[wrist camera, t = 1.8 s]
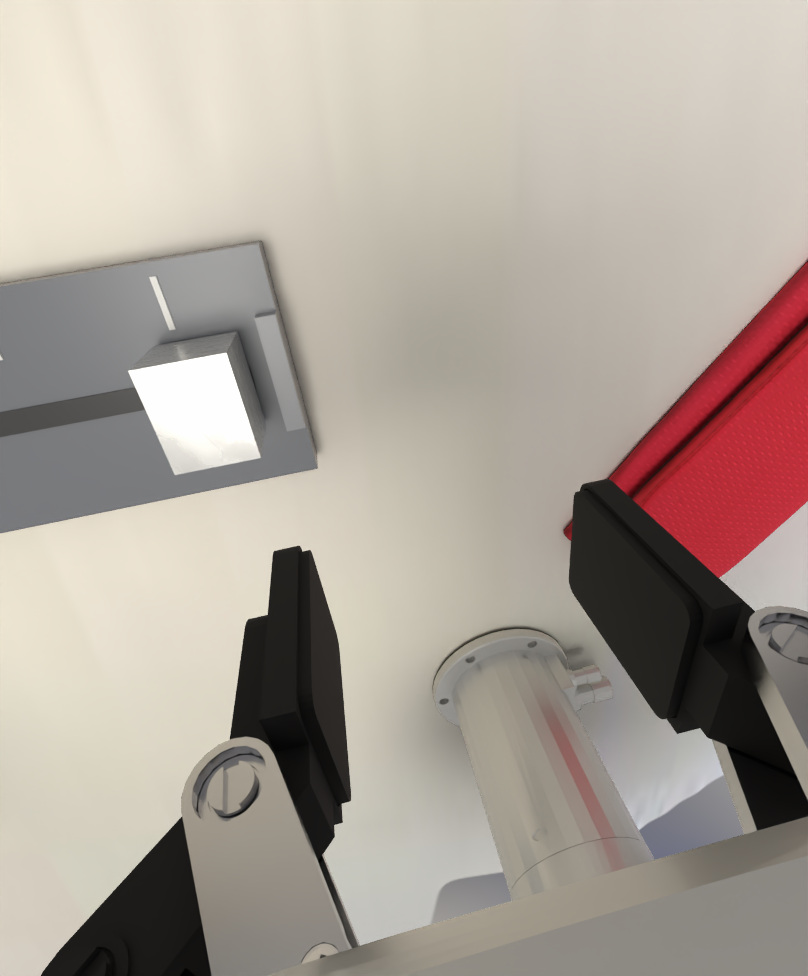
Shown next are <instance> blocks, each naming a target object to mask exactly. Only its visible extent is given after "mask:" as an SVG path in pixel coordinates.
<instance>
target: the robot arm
mask: <svg viewBox="0 0 808 976" xmlns="http://www.w3.org/2000/svg"><path fill="white" fill-rule="evenodd" d="M569 584H570V587H571V590H572V592H573V594H574V596H575V597H576V599H577V600H578V602H579V603H580V605H581V606H582V608H583V609H584V610H585V612H586V613H587V615H588V616H589V618H590V619H591V621H592V622H593V624H594V625H595V627H596V628H597V629H598V631H599V632H600V634H601V635H602V637H603V638H604V640H605V641H606V643H607V644H608V646H609V647H610V648H611V650H612V651H613V653H614V654H615V656H616V657H617V659H618V660H619V662H620V663H621V665H622V666H623V667H624V669H625V670H626V672H627V673H628V675H629V676H630V678H631V679H632V681H633V682H634V684H635V685H636V686H637V688H638V689H639V691H640V692H641V694H642V695H643V697H644V698H645V700H646V701H647V703H648V704H649V705H650V707H651V708H652V710H653V711H654V713H655V714H656V715H657V716H658V717H659V718H661V719H666V718H667V720H668V721H669V723H670V724H671V726H672V727H673V728H674V730H675V731H676V733H677V734H679V733H682V732H686V731H690V730H694V729H697V728H701V730H702V731H703V732H704V734H705V735H706V736H707V737H708V738H710V739H712V741H713V744H714V747H715V750H716V753H717V756H718V759H719V762H720V765H721V768H722V771H723V773H724V776H725V779H726V782H727V785H728V788H729V791H730V794H731V797H732V800H733V802H734V805H735V809H736V811H737V814H738V817H739V820H740V823H741V826H742V829H743V832H744V835H741V836H737V837H733V838H730V839H727V840H723V841H719V842H716V843H712V844H709V845H705V846H702V847H698V848H695V849H692V850H688V851H684V852H681V853H677V854H674V855H670V856H667V857H663V858H660V859H656V860H655V859H654V858H653V856H652V854H651V852H650V850H649V848H648V847H647V845H646V843H645V842H644V840H643V838H642V836H641V834H640V832H639V830H638V828H637V826H636V824H635V823H634V821H633V819H632V817H631V815H630V813H629V811H628V809H627V808H626V806H625V804H624V802H623V800H622V798H621V796H620V794H619V792H618V791H617V789H616V787H615V785H614V783H613V781H612V779H611V777H610V776H609V774H608V772H607V770H606V768H605V766H604V764H603V762H602V761H601V759H600V757H599V755H598V753H597V751H596V749H595V747H594V745H593V744H592V742H591V740H590V738H589V736H588V734H587V732H586V730H585V729H584V727H583V725H582V723H581V721H580V719H579V717H578V715H577V713H576V712H575V711H577V710H581V705H583V704H587V703H591V702H593V703H595V702H599V701H603V700H607V699H611V698H613V696H614V695H613V689H612V686H611V684H610V682H609V680H608V679H607V678H606V677H605V676H602V677H601V673H600V670H599V668H598V667H597V666H596V665H595V664H594V665H590V666H586V667H582V668H581V669H577V670H573V671H571V670H570V669H569V668H568V661H567V658H566V656H565V654H564V652H563V650H562V648H561V647H560V645H559V644H558V643H557V641H555V640H554V639H553V638H552V637H550V636H548V635H546V634H544V633H542V632H538V631H534V630H528V629H511V630H503V631H498V632H494V633H490V634H488V635H485V636H482V637H480V638H477V639H475V640H473V641H472V642H470V643H468V644H466V645H464V646H463V647H462V648H460V649H459V650H457V651H456V652H455V653H454V654H453V655H452V656H451V657H449V658H448V659H447V660H446V661H445V663H444V664H443V665H442V667H441V668H440V670H439V671H438V673H437V675H436V678H435V680H434V685H433V696H434V700H435V703H436V707H437V709H438V711H439V713H440V714H441V716H443V717H444V718H445V719H446V720H447V721H449V722H450V723H452V724H454V725H457V726H460V727H461V731H462V734H463V737H464V741H465V744H466V747H467V751H468V754H469V758H470V761H471V764H472V768H473V771H474V774H475V778H476V781H477V784H478V788H479V791H480V794H481V798H482V801H483V805H484V808H485V811H486V815H487V818H488V821H489V825H490V828H491V831H492V835H493V838H494V841H495V845H496V848H497V852H498V855H499V858H500V862H501V865H502V868H503V872H504V875H505V878H506V882H507V885H508V888H509V892H510V895H511V899H512V901H510V902H507V903H503V904H500V905H497V906H493V907H490V908H486V909H483V910H480V911H476V912H473V913H469V914H466V915H462V916H459V917H456V918H452V919H449V920H445V921H442V922H438V923H435V924H431V925H428V926H425V927H421V928H418V929H414V930H411V931H407V932H404V933H401V934H397V935H394V936H390V937H387V938H384V939H381V940H377V941H374V942H371V943H368V944H365V945H361V946H360V944H359V942H358V939H357V937H356V934H355V932H354V929H353V927H352V924H351V922H350V919H349V917H348V914H347V912H346V909H345V907H344V904H343V902H342V899H341V897H340V894H339V892H338V889H337V887H336V885H335V882H334V880H333V877H332V875H331V872H330V870H329V867H328V865H327V862H326V860H325V857H324V855H323V853H324V852H325V850H326V849H327V847H328V846H329V844H330V843H331V841H332V840H333V838H334V837H335V835H334V825H335V824H339V823H343V821H342V805H341V804H342V803H345V802H349V801H351V789H350V776H349V764H348V751H347V739H346V726H345V714H344V701H343V689H342V676H341V664H340V652H339V643H338V638H337V634H336V630H335V627H334V624H333V621H332V617H331V614H330V611H329V608H328V604H327V601H326V598H325V594H324V591H323V588H322V585H321V581H320V578H319V575H318V571H317V568H316V565H315V562H314V558H313V555H312V552H311V551H310V550H308V551H304V552H302V549H301V547H300V546H296V547H291V548H286V549H282V550H277V551H274V552H273V561H272V572H271V584H270V596H269V608H268V615H266V616H261V617H257V618H252V619H248V621H247V622H246V626H245V632H244V639H243V646H242V654H241V661H240V668H239V676H238V683H237V690H236V698H235V705H234V713H233V720H232V727H231V735H230V740H229V741H226V742H224V743H222V744H219V745H218V746H217V747H215V748H214V749H212V750H211V751H210V752H208V753H207V754H206V755H205V756H204V757H203V758H202V759H201V760H200V761H199V762H198V764H197V765H196V766H195V767H194V769H193V770H192V772H191V774H190V776H189V777H188V779H187V781H186V783H185V787H184V790H183V793H182V797H181V812H182V817H181V818H180V819H179V820H178V821H177V823H176V824H175V825H174V826H173V827H172V828H171V829H170V830H169V831H168V832H167V833H166V835H165V836H164V837H163V838H162V839H161V840H160V841H159V842H158V843H157V844H156V845H155V847H154V848H153V849H152V850H151V851H150V852H149V853H148V854H147V855H146V856H145V857H144V859H143V860H142V861H141V862H140V863H139V864H138V865H137V866H136V867H135V868H134V870H133V871H132V872H131V873H130V874H129V875H128V876H127V877H126V878H125V879H124V880H123V882H122V883H121V884H120V885H119V886H118V887H117V888H116V889H115V890H114V891H113V892H112V894H111V895H110V896H109V897H108V898H107V899H106V900H105V901H104V902H103V903H102V904H101V906H100V907H99V908H98V909H97V910H96V911H95V912H94V913H93V914H92V915H91V917H90V918H89V919H88V920H87V921H86V922H85V923H84V924H83V925H82V926H81V927H80V929H79V930H78V931H77V932H76V933H75V934H74V935H73V936H72V937H71V938H70V939H69V941H68V942H67V943H66V944H65V945H64V946H63V947H62V948H61V949H60V950H59V952H58V953H57V954H56V956H55V957H54V958H53V959H52V961H51V962H50V963H49V965H48V966H47V967H46V968H45V970H44V971H43V973H42V975H41V976H808V612H806V611H803V610H800V609H796V608H790V607H783V606H774V607H765V608H763V609H760V610H757V611H756V612H755V611H754V610H753V609H752V608H751V607H750V606H749V605H748V604H746V603H745V602H744V601H743V600H742V599H741V598H740V597H739V596H738V595H737V594H735V593H734V592H733V591H732V590H731V589H730V588H729V587H728V586H727V585H726V584H725V583H723V582H722V581H721V580H720V579H719V578H718V577H717V576H716V575H715V574H714V573H712V572H711V571H710V570H709V569H708V568H707V567H706V566H705V565H704V564H703V563H701V562H700V561H699V560H698V559H697V558H696V557H695V556H694V555H693V554H692V553H691V552H689V551H688V550H687V549H686V548H685V547H684V546H683V545H682V544H681V543H680V542H678V541H677V540H676V539H675V538H674V537H673V536H672V535H671V534H670V533H669V532H668V531H666V530H665V529H664V528H663V527H662V526H661V525H660V524H659V523H658V522H657V521H655V520H654V519H653V518H652V517H651V516H650V515H649V514H648V513H647V512H646V511H644V510H643V509H642V508H641V507H640V506H639V505H638V504H637V503H636V502H635V501H634V500H632V499H631V498H630V497H629V496H628V495H627V494H626V493H625V492H624V491H623V490H621V489H620V488H619V487H618V486H617V485H616V484H615V483H614V482H613V481H611V480H610V479H604V480H599V481H595V482H590V483H586V484H583V485H582V486H581V489H580V491H579V492H576V493H575V495H574V504H573V520H572V536H571V553H570V569H569Z"/></svg>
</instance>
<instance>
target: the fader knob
mask: <svg viewBox="0 0 808 976" xmlns="http://www.w3.org/2000/svg"><path fill="white" fill-rule="evenodd" d="M128 372H129V374H130V376H131V379H132V381H133V383H134V385H135V388H136V390H137V392H138V394H139V396H140V399H141V401H142V403H143V405H144V408H145V410H146V412H147V414H148V417H149V419H150V421H151V423H152V425H153V428H154V430H155V432H156V434H157V437H158V439H159V441H160V443H161V445H162V448H163V450H164V452H165V454H166V457H167V459H168V461H169V463H170V466H171V468H172V470H173V472H174V474H175V475H178V474H183V473H188V472H193V471H198V470H203V469H208V468H213V467H218V466H223V465H228V464H233V463H238V462H243V461H248V460H253V459H258V458H261V455H262V448H263V442H264V436H265V430H266V422H265V418H264V415H263V412H262V409H261V405H260V402H259V399H258V396H257V393H256V389H255V386H254V383H253V380H252V377H251V373H250V370H249V367H248V364H247V361H246V357H245V354H244V351H243V348H242V345H241V341H240V338H239V335H238V332H237V331H235V332H229V333H224V334H218V335H212V336H207V337H201V338H196V339H190V340H185V341H179V342H173V343H168V344H162V345H157V346H153V347H152V348H151V349H150V350H149V351H148V352H147V353H146V354H145V355H144V356H143V357H142V358H141V359H140V360H139V361H138V362H137V363H136V364H135V365H134V366H133V367H132V368H131V369H130V370H129V371H128Z"/></svg>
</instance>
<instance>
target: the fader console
mask: <svg viewBox="0 0 808 976" xmlns="http://www.w3.org/2000/svg"><path fill="white" fill-rule="evenodd" d="M235 331H237V332H238V335H239V338H240V341H241V345H242V348H243V351H244V354H245V357H246V361H247V364H248V367H249V370H250V373H251V377H252V380H253V383H254V386H255V389H256V393H257V396H258V399H259V402H260V405H261V409H262V412H263V415H264V418H265V422H266V430H265V436H264V442H263V448H262V455H261V458H258V459H253V460H248V461H243V462H238V463H233V464H228V465H223V466H218V467H213V468H208V469H203V470H198V471H193V472H188V473H183V474H178V475H175V474H174V472H173V470H172V468H171V466H170V463H169V461H168V459H167V457H166V454H165V452H164V450H163V448H162V445H161V443H160V441H159V439H158V437H157V434H156V432H155V430H154V428H153V425H152V423H151V421H150V419H149V417H148V414H147V412H146V410H145V408H144V405H143V403H142V401H141V399H140V396H139V394H138V392H137V390H136V388H135V385H134V383H133V381H132V379H131V376H130V374H129V372H128V371H129V370H130V369H131V368H132V367H133V366H134V365H135V364H136V363H137V362H138V361H139V360H140V359H141V358H142V357H143V356H144V355H145V354H146V353H147V352H148V351H149V350H150V349H151V348H152V347H153V346H157V345H162V344H168V343H173V342H179V341H185V340H190V339H196V338H201V337H207V336H212V335H218V334H224V333H229V332H235ZM317 468H318V467H317V452H316V449H315V445H314V441H313V437H312V433H311V429H310V425H309V422H308V418H307V414H306V410H305V406H304V402H303V399H302V395H301V391H300V387H299V383H298V379H297V376H296V372H295V368H294V364H293V360H292V356H291V353H290V349H289V345H288V341H287V337H286V333H285V330H284V326H283V322H282V318H281V314H280V310H279V307H278V303H277V299H276V295H275V291H274V287H273V283H272V280H271V276H270V272H269V268H268V264H267V260H266V257H265V253H264V249H263V245H262V241H257V242H251V243H245V244H239V245H233V246H227V247H220V248H214V249H208V250H202V251H196V252H190V253H184V254H178V255H172V256H166V257H160V258H154V259H148V260H142V261H136V262H130V263H123V264H117V265H111V266H105V267H99V268H93V269H87V270H81V271H75V272H69V273H63V274H57V275H51V276H45V277H39V278H33V279H26V280H20V281H14V282H8V283H2V284H0V533H4V532H9V531H14V530H19V529H24V528H29V527H33V526H38V525H43V524H48V523H53V522H58V521H63V520H68V519H73V518H77V517H82V516H87V515H92V514H97V513H102V512H107V511H112V510H117V509H121V508H126V507H131V506H136V505H141V504H146V503H151V502H156V501H161V500H165V499H170V498H175V497H180V496H185V495H190V494H195V493H200V492H205V491H209V490H214V489H219V488H224V487H229V486H234V485H239V484H244V483H249V482H253V481H258V480H263V479H268V478H273V477H278V476H283V475H288V474H293V473H297V472H302V471H307V470H312V469H317Z"/></svg>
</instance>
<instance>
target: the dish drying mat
mask: <svg viewBox="0 0 808 976" xmlns="http://www.w3.org/2000/svg"><path fill="white" fill-rule="evenodd" d="M609 479H610V480H611V481H613V482H614V483H615V484H616V485H617V486H618V487H619V488H620V489H621V490H623V491H624V492H625V493H626V494H627V495H628V496H629V497H630V498H631V499H632V500H634V501H635V502H636V503H637V504H638V505H639V506H640V507H641V508H642V509H643V510H644V511H646V512H647V513H648V514H649V515H650V516H651V517H652V518H653V519H654V520H655V521H657V522H658V523H659V524H660V525H661V526H662V527H663V528H664V529H665V530H666V531H668V532H669V533H670V534H671V535H672V536H673V537H674V538H675V539H676V540H677V541H678V542H680V543H681V544H682V545H683V546H684V547H685V548H686V549H687V550H688V551H689V552H691V553H692V554H693V555H694V556H695V557H696V558H697V559H698V560H699V561H700V562H701V563H703V564H704V565H705V566H706V567H707V568H708V569H709V570H710V571H711V572H712V573H714V574H715V575H716V576H717V577H718V578H719V577H721V576H722V575H724V574H725V573H726V572H727V571H729V570H730V569H731V568H732V567H734V566H735V565H736V564H737V563H739V562H740V561H741V560H742V559H743V558H744V557H746V556H747V555H748V554H749V553H750V552H751V551H752V550H754V549H755V548H756V547H757V546H758V545H759V544H760V543H761V542H763V541H764V540H765V539H766V538H767V537H768V536H769V535H770V534H771V533H772V532H774V531H775V530H776V529H777V528H778V527H779V526H780V525H781V524H783V523H784V522H785V521H786V520H787V519H788V518H790V517H791V516H792V515H793V514H794V513H795V512H796V511H797V510H798V509H799V508H800V507H802V506H803V505H804V504H805V503H806V502H807V501H808V261H807V263H806V264H805V265H804V266H803V267H802V268H801V269H800V270H799V271H798V272H797V273H796V274H795V275H794V276H793V278H792V279H791V280H790V281H789V282H788V283H787V284H786V285H785V286H784V287H783V288H782V289H781V290H780V291H779V293H778V294H777V295H776V296H775V297H774V298H773V299H772V300H771V301H770V302H769V303H768V304H767V305H766V306H765V307H764V308H763V309H762V310H761V311H760V312H759V314H758V315H757V316H756V317H755V318H754V319H753V320H752V321H751V322H750V323H749V324H748V326H747V327H746V328H745V329H744V330H743V331H742V332H741V333H740V334H739V335H738V336H737V337H736V339H735V340H734V341H733V342H732V343H731V344H730V345H729V346H728V347H727V348H726V349H725V350H724V351H723V353H722V354H721V355H720V356H719V357H718V358H717V359H716V360H715V361H714V362H713V363H712V364H711V365H710V367H709V368H708V369H707V370H706V371H705V372H704V373H703V374H702V375H701V376H700V377H699V378H698V380H697V381H696V382H695V383H694V384H693V385H692V386H691V388H690V389H689V390H688V391H687V392H686V393H685V394H684V396H683V397H682V398H681V399H680V400H679V401H678V402H677V403H676V405H675V406H674V407H673V408H672V409H671V410H670V411H669V412H668V414H667V415H666V416H665V417H664V418H663V419H662V420H661V421H660V422H659V423H658V424H657V425H656V426H655V427H654V428H653V429H652V430H651V431H650V432H649V433H648V434H647V435H646V437H645V438H644V439H643V440H642V441H641V442H640V444H639V445H638V446H637V447H636V448H635V449H634V450H633V451H632V452H631V454H630V455H629V456H628V457H627V458H626V460H625V461H624V462H623V463H622V464H621V465H620V466H619V468H618V469H617V470H616V471H615V472H614V473H613V474H612V476H611V477H610V478H609ZM564 534H565V536H566V537H567V538H568V539H569V540H571V536H572V522H571V523H570V525H569V526H568V527H566V529H565V530H564Z"/></svg>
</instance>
